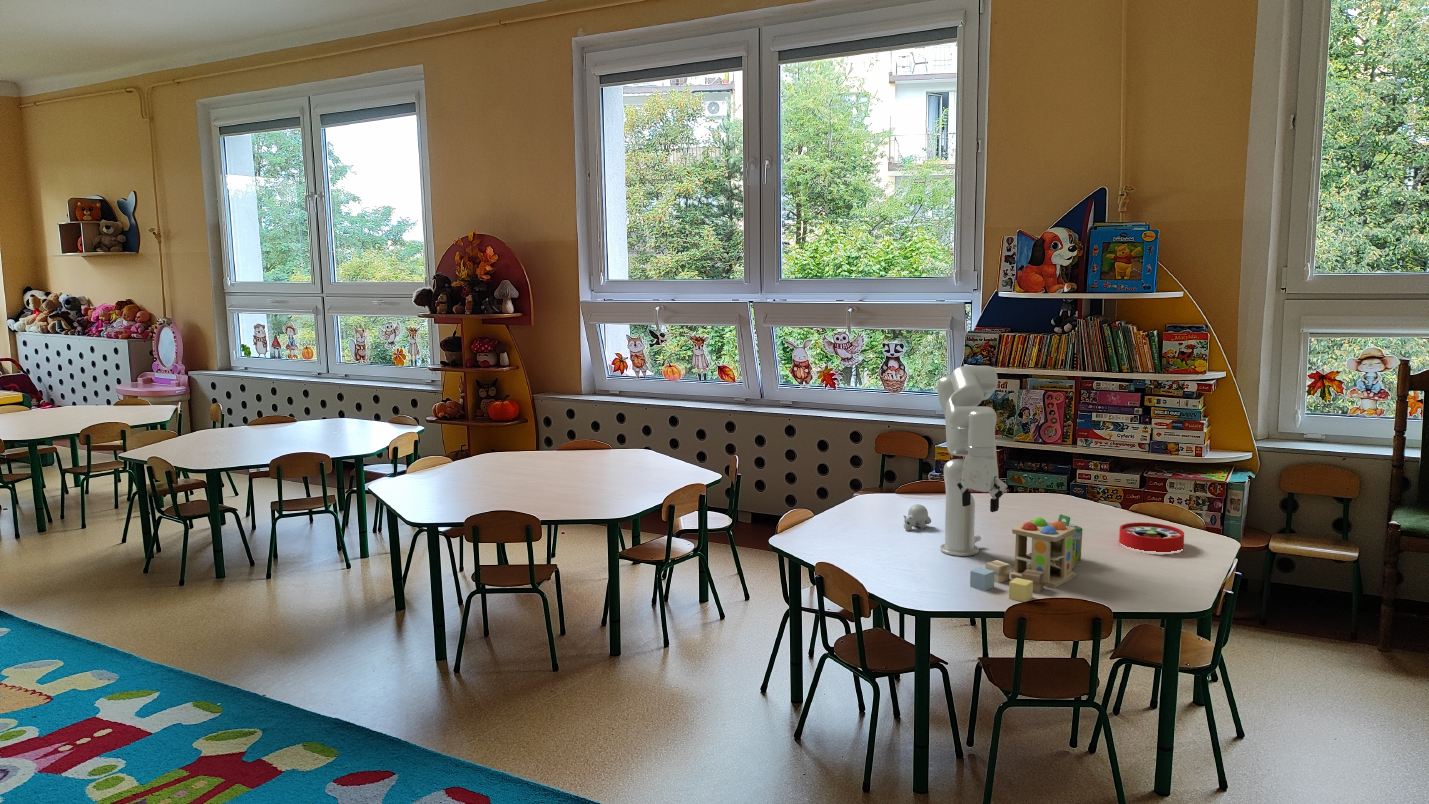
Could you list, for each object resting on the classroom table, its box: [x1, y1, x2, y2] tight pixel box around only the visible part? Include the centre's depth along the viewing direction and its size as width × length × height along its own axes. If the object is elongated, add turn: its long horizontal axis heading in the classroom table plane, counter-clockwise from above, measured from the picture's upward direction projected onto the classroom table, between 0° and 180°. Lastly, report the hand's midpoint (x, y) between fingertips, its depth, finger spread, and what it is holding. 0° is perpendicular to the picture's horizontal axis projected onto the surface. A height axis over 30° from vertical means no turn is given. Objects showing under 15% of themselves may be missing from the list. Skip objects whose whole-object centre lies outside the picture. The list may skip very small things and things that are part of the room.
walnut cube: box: [1022, 569, 1045, 594], centre depth 277 cm, size 5×5×5 cm
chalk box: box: [1054, 514, 1083, 564], centre depth 303 cm, size 9×9×15 cm
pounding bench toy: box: [1010, 517, 1076, 589], centre depth 289 cm, size 23×14×18 cm, turn 135°
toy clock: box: [1118, 521, 1185, 552], centre depth 317 cm, size 20×6×20 cm
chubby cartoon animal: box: [903, 503, 932, 531], centre depth 343 cm, size 7×12×8 cm, turn 125°
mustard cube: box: [1008, 578, 1034, 603], centre depth 269 cm, size 5×5×5 cm
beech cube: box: [985, 559, 1011, 584], centre depth 286 cm, size 5×5×5 cm
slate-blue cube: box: [969, 567, 995, 592], centre depth 279 cm, size 5×5×5 cm
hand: (980, 508), depth 277 cm, fingers open, 9 cm apart
